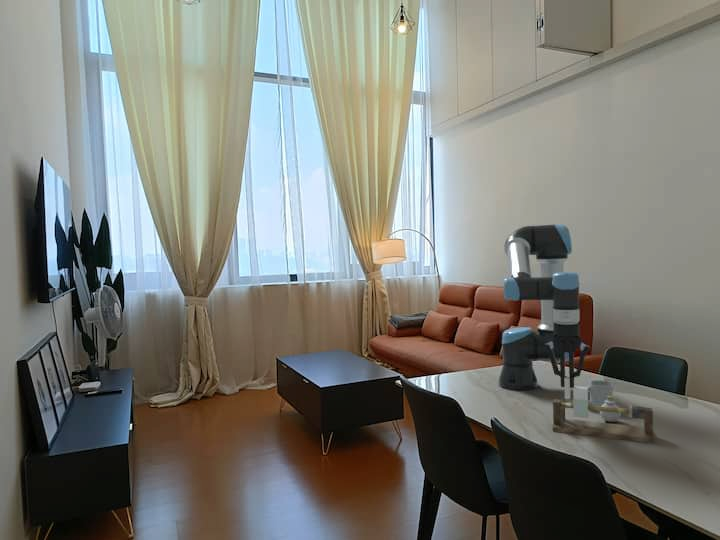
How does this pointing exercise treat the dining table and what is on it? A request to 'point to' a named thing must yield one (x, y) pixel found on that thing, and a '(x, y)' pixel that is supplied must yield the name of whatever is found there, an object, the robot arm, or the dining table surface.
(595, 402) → the cup
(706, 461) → the dining table surface
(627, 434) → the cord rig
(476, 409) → the dining table surface
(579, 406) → the sleeve
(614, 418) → the ornament
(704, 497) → the dining table surface
